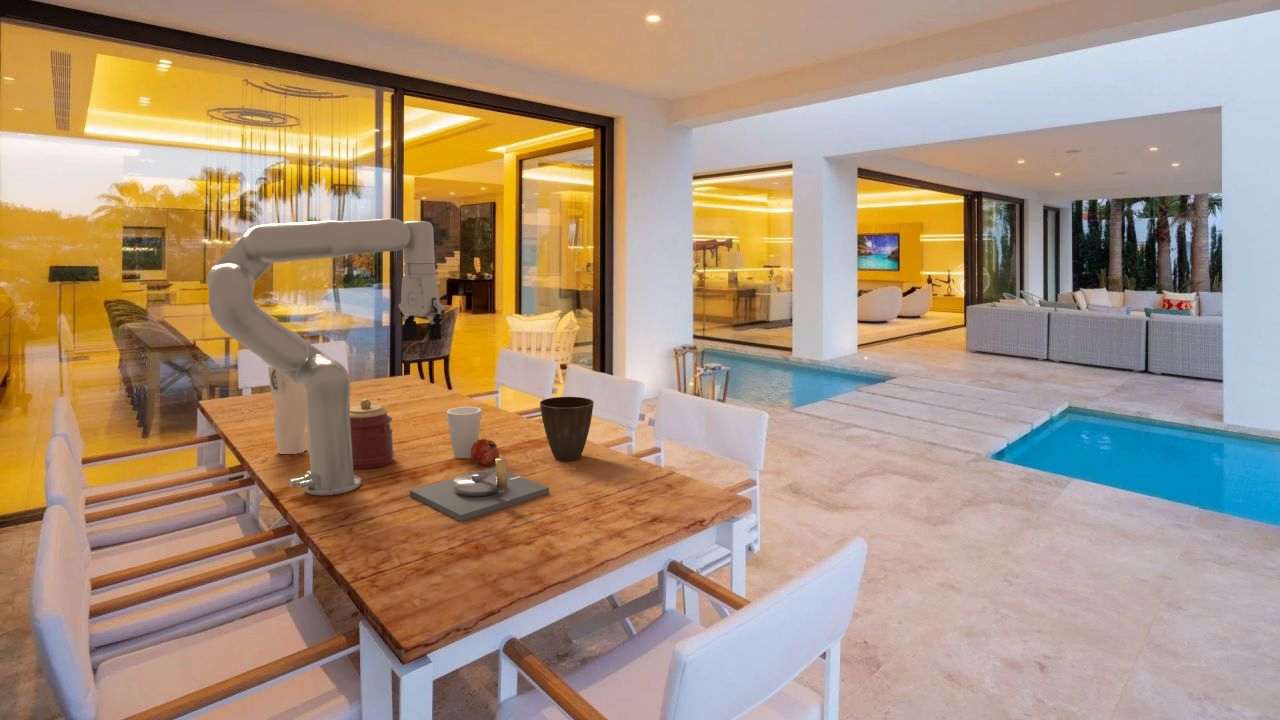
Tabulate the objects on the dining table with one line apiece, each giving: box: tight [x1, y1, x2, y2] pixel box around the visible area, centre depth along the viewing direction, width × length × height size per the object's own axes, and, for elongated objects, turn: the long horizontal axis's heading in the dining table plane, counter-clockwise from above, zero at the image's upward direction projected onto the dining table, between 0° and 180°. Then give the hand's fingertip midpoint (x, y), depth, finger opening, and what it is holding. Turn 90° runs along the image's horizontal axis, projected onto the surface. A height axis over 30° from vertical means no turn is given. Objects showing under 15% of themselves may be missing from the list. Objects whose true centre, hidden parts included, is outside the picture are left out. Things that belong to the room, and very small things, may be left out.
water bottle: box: [267, 366, 309, 455], centre depth 192 cm, size 10×9×28 cm
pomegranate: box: [471, 438, 500, 467], centre depth 183 cm, size 7×7×10 cm
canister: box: [350, 398, 395, 470], centre depth 183 cm, size 13×13×18 cm
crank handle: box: [453, 456, 508, 497], centre depth 158 cm, size 16×12×9 cm
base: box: [409, 466, 550, 522], centre depth 160 cm, size 24×22×2 cm
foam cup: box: [446, 406, 482, 459], centre depth 191 cm, size 10×9×13 cm
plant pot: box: [539, 396, 595, 462], centre depth 189 cm, size 15×15×16 cm
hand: (422, 338), depth 173 cm, fingers open, 9 cm apart
